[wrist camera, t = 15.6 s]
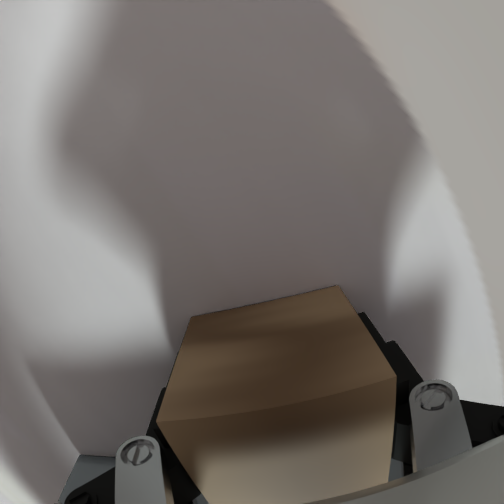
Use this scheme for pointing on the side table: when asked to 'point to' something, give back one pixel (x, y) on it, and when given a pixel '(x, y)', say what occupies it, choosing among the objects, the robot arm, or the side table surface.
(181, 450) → the walnut cube
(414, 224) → the side table surface
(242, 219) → the side table surface
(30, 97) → the side table surface
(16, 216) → the side table surface
